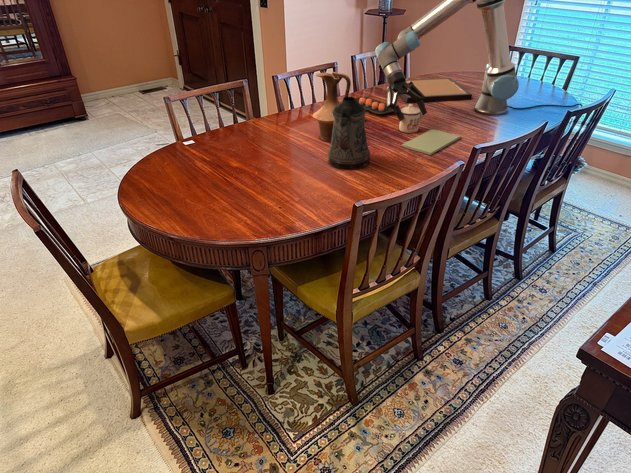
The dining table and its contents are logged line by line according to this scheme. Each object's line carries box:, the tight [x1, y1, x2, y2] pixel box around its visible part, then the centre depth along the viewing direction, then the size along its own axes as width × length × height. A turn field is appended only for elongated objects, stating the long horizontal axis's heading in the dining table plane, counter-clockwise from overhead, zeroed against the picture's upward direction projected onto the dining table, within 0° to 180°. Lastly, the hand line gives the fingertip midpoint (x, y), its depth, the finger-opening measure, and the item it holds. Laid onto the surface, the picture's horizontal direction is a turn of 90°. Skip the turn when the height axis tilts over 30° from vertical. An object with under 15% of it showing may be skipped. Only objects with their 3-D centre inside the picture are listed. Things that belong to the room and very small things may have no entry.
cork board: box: [399, 77, 473, 104], centre depth 247 cm, size 36×3×35 cm
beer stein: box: [327, 96, 371, 171], centre depth 164 cm, size 16×19×25 cm
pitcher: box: [312, 71, 352, 142], centre depth 186 cm, size 18×17×28 cm
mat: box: [401, 128, 461, 156], centre depth 185 cm, size 24×14×1 cm, turn 136°
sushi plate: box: [354, 96, 395, 122], centre depth 222 cm, size 29×30×4 cm
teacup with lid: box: [398, 103, 424, 134], centre depth 196 cm, size 12×9×12 cm
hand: (413, 116), depth 195 cm, fingers open, 13 cm apart
